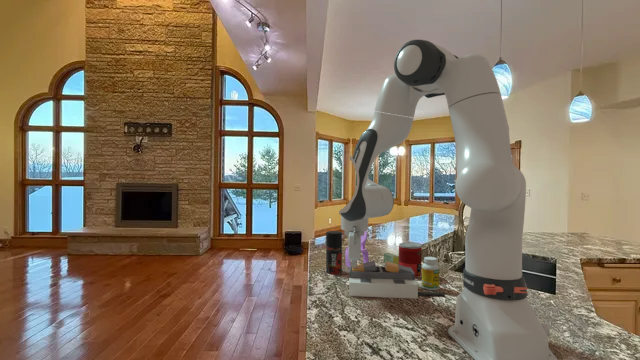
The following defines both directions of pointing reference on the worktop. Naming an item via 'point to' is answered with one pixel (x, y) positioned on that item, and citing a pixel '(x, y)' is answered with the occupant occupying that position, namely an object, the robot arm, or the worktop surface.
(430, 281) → the supplement bottle
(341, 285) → the worktop surface
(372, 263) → the rocker
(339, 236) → the deodorant
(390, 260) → the medication box
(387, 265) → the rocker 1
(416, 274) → the canned food
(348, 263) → the toy chair
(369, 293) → the power strip
